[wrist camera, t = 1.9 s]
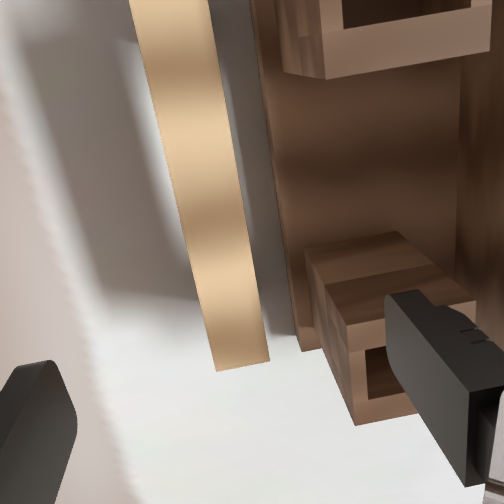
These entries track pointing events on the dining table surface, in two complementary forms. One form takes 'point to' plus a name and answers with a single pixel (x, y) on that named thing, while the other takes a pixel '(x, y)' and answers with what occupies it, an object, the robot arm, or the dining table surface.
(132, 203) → the dining table surface
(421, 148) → the wooden pen holder stand
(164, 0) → the oak rail
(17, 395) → the robot arm
